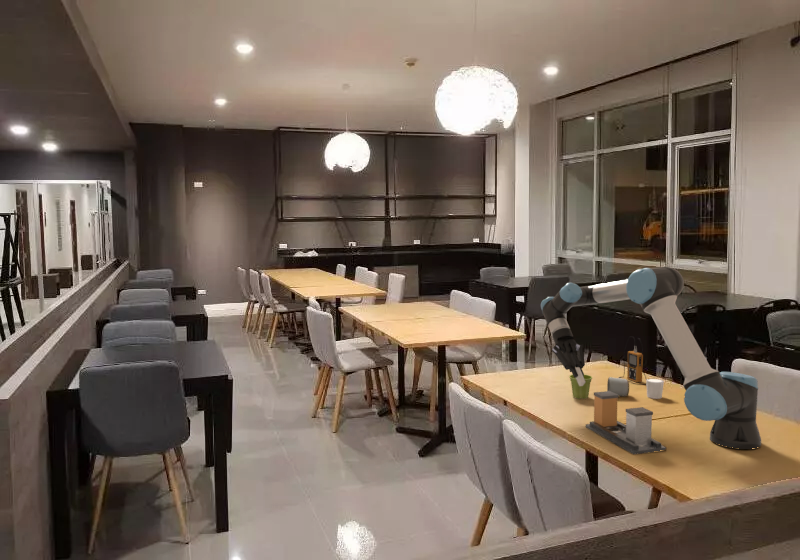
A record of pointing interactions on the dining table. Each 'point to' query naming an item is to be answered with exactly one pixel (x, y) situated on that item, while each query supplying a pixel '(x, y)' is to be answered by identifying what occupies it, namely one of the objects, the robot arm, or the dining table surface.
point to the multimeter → (634, 365)
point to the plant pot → (580, 387)
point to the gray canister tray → (631, 432)
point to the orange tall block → (605, 408)
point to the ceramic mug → (618, 386)
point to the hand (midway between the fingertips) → (582, 384)
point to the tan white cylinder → (654, 388)
